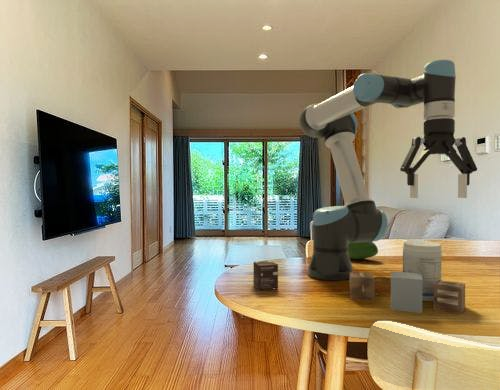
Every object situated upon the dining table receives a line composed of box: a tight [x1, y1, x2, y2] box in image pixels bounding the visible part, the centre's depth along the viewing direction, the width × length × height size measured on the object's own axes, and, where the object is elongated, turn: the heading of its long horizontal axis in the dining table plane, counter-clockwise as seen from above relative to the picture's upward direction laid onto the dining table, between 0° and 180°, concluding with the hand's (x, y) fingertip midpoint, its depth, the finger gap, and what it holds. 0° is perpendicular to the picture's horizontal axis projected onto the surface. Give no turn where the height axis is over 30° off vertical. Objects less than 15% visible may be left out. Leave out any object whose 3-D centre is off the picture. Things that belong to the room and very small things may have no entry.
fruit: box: [348, 242, 379, 261], centre depth 153 cm, size 15×10×10 cm, turn 47°
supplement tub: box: [402, 240, 443, 302], centre depth 100 cm, size 10×10×15 cm
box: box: [252, 260, 279, 291], centre depth 110 cm, size 6×6×7 cm
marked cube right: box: [433, 279, 466, 315], centre depth 90 cm, size 6×6×6 cm
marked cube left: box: [349, 271, 376, 302], centre depth 99 cm, size 6×8×6 cm
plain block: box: [390, 270, 423, 314], centre depth 91 cm, size 7×7×8 cm
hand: (438, 198), depth 100 cm, fingers open, 13 cm apart
